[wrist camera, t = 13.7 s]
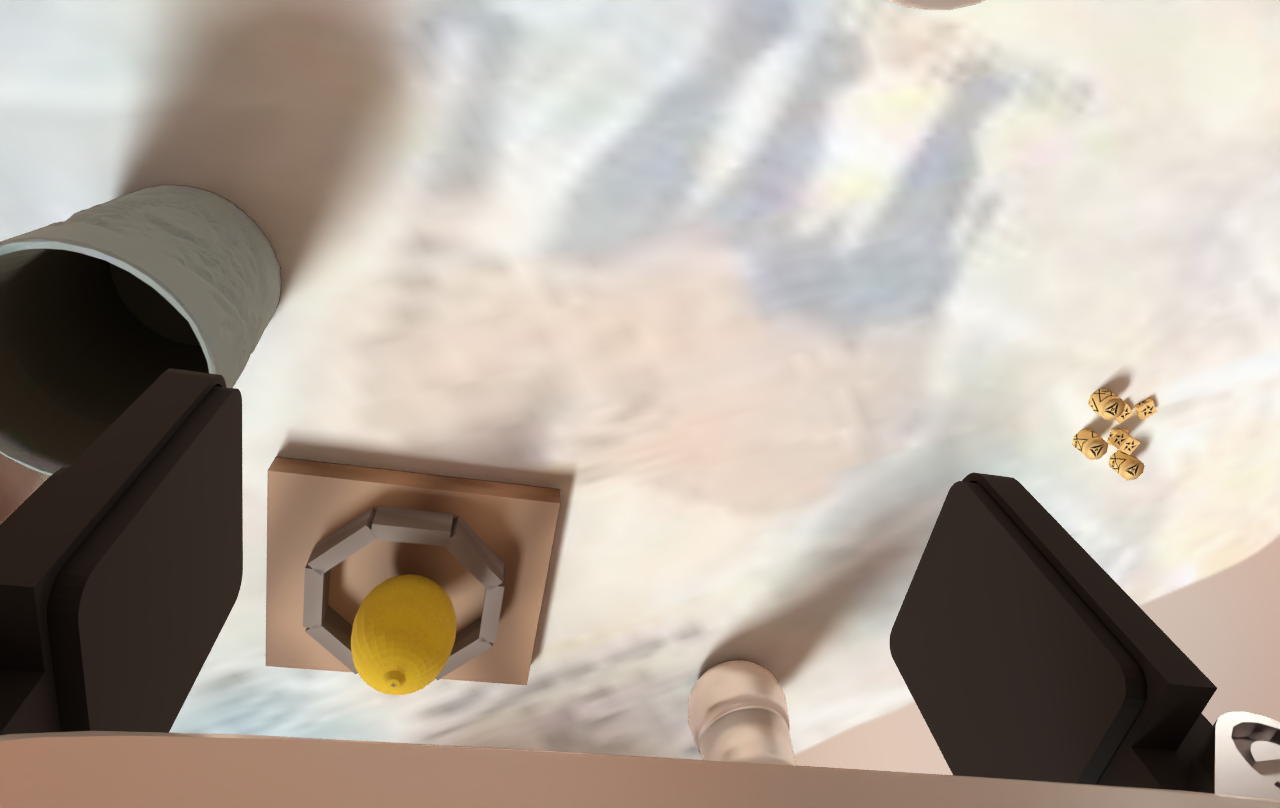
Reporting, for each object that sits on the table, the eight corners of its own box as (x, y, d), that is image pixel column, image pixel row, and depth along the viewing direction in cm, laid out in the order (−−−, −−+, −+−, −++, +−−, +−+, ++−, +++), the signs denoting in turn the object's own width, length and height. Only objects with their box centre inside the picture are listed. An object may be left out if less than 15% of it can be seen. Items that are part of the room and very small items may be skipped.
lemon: (362, 615, 50) (331, 718, 43) (372, 540, 48) (342, 636, 41) (454, 627, 51) (439, 730, 44) (469, 554, 49) (456, 650, 42)
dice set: (1117, 467, 54) (1136, 482, 52) (1050, 450, 53) (1067, 465, 51) (1160, 398, 52) (1181, 412, 50) (1091, 379, 51) (1110, 392, 49)
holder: (559, 489, 50) (560, 521, 47) (527, 668, 55) (525, 706, 52) (275, 456, 47) (257, 487, 44) (272, 648, 53) (256, 687, 50)
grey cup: (245, 147, 40) (133, 205, 29) (332, 338, 44) (264, 450, 33) (41, 204, 40) (-145, 283, 29) (149, 388, 44) (22, 515, 34)
